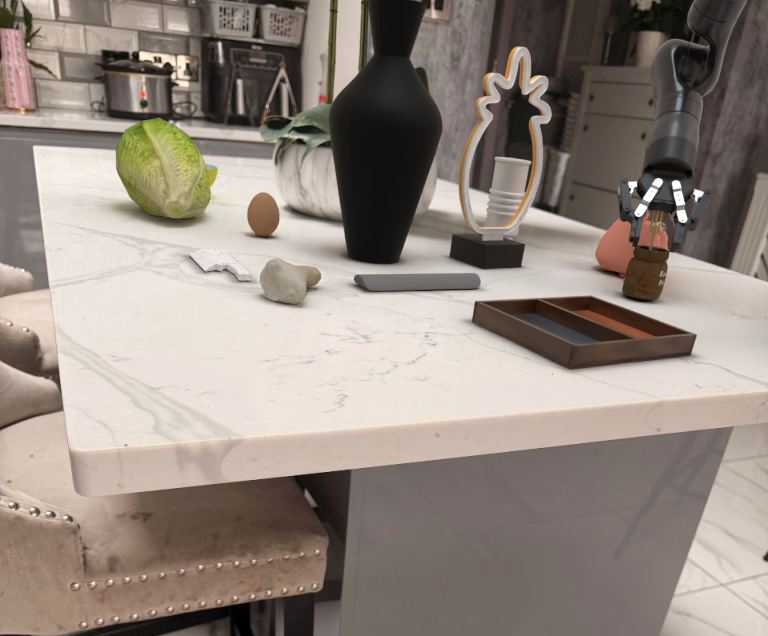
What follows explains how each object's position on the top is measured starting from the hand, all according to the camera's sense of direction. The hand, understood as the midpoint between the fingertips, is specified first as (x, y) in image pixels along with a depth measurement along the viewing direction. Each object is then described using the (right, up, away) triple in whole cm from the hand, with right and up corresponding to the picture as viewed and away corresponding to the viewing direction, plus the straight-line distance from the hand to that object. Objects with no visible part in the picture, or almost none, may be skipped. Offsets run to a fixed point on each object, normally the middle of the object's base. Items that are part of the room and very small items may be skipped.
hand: (654, 245), depth 113 cm
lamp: (-23, +3, +18) cm, 29 cm away
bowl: (-81, +27, +48) cm, 98 cm away
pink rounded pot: (+3, +2, +22) cm, 22 cm away
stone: (-51, -12, -14) cm, 55 cm away
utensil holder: (0, -6, +5) cm, 8 cm away
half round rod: (-35, -7, -3) cm, 36 cm away
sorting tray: (-16, -18, -19) cm, 30 cm away
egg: (-61, +8, +18) cm, 64 cm away
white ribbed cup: (-18, +13, +36) cm, 42 cm away
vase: (-42, +2, +11) cm, 43 cm away
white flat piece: (-63, -5, -6) cm, 64 cm away
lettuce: (-79, +14, +25) cm, 84 cm away
